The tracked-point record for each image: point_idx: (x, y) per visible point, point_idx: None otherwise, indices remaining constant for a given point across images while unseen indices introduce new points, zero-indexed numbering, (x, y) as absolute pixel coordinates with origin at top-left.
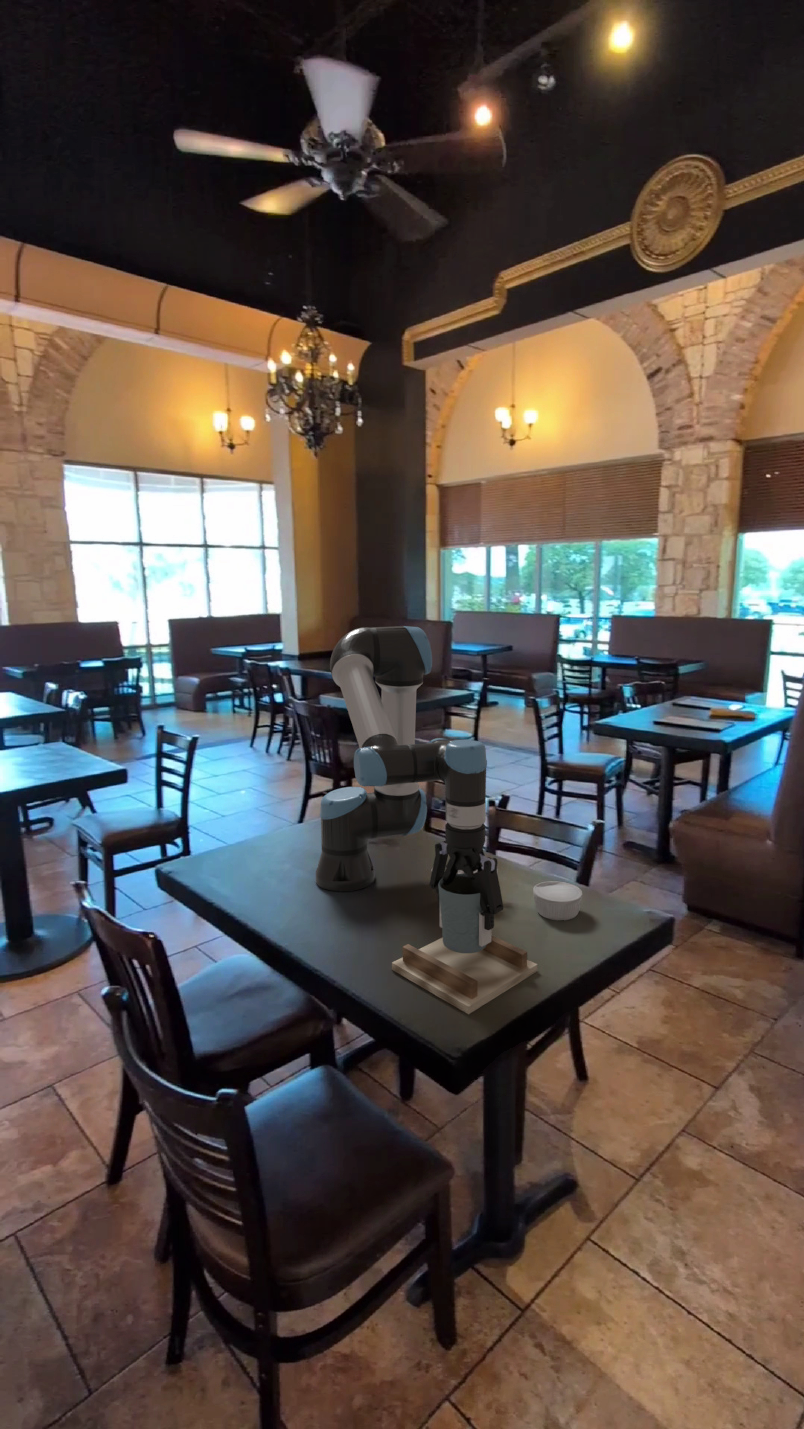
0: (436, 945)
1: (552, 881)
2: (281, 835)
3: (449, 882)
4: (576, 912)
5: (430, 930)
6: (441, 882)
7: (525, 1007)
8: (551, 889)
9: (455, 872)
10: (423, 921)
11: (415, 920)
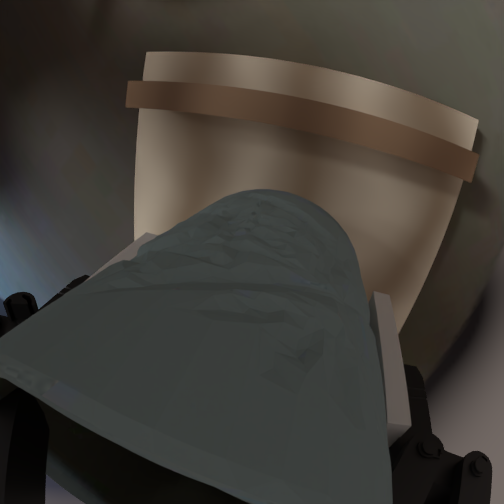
0: (152, 187)
1: None
2: None
3: (34, 413)
4: None
5: (88, 99)
6: (49, 464)
7: (477, 291)
8: None
9: (16, 490)
10: (57, 79)
11: (45, 91)
